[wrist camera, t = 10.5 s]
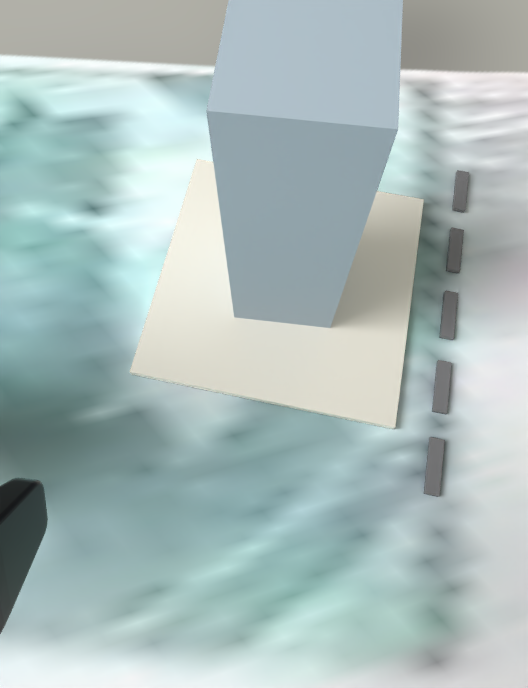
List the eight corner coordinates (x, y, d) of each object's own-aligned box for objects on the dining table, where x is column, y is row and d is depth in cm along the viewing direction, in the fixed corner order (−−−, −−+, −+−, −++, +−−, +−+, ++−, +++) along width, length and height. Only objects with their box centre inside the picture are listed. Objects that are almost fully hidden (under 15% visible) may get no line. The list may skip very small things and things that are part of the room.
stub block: (330, 328, 24) (397, 129, 12) (234, 317, 24) (206, 111, 12) (337, 244, 25) (402, -7, 13) (246, 234, 25) (233, -22, 13)
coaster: (421, 203, 26) (423, 199, 26) (393, 429, 22) (395, 427, 22) (197, 164, 27) (196, 159, 27) (131, 374, 23) (129, 372, 23)
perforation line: (456, 172, 27) (457, 170, 27) (467, 174, 27) (468, 172, 27) (423, 493, 21) (425, 493, 21) (437, 496, 21) (439, 496, 21)
